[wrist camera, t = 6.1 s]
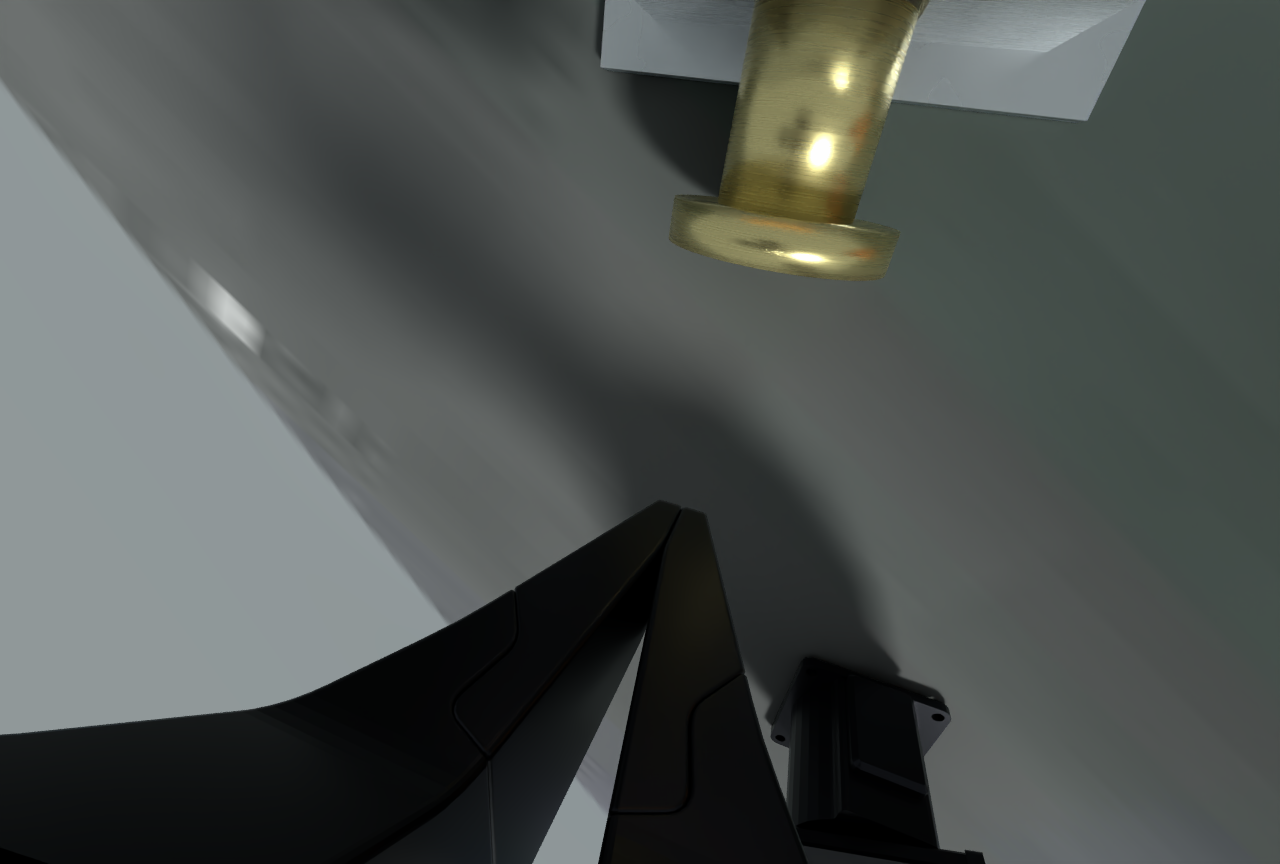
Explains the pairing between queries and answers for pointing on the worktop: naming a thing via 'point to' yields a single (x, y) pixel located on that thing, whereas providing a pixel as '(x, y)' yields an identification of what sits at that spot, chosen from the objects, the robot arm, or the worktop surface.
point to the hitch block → (935, 60)
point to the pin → (805, 142)
